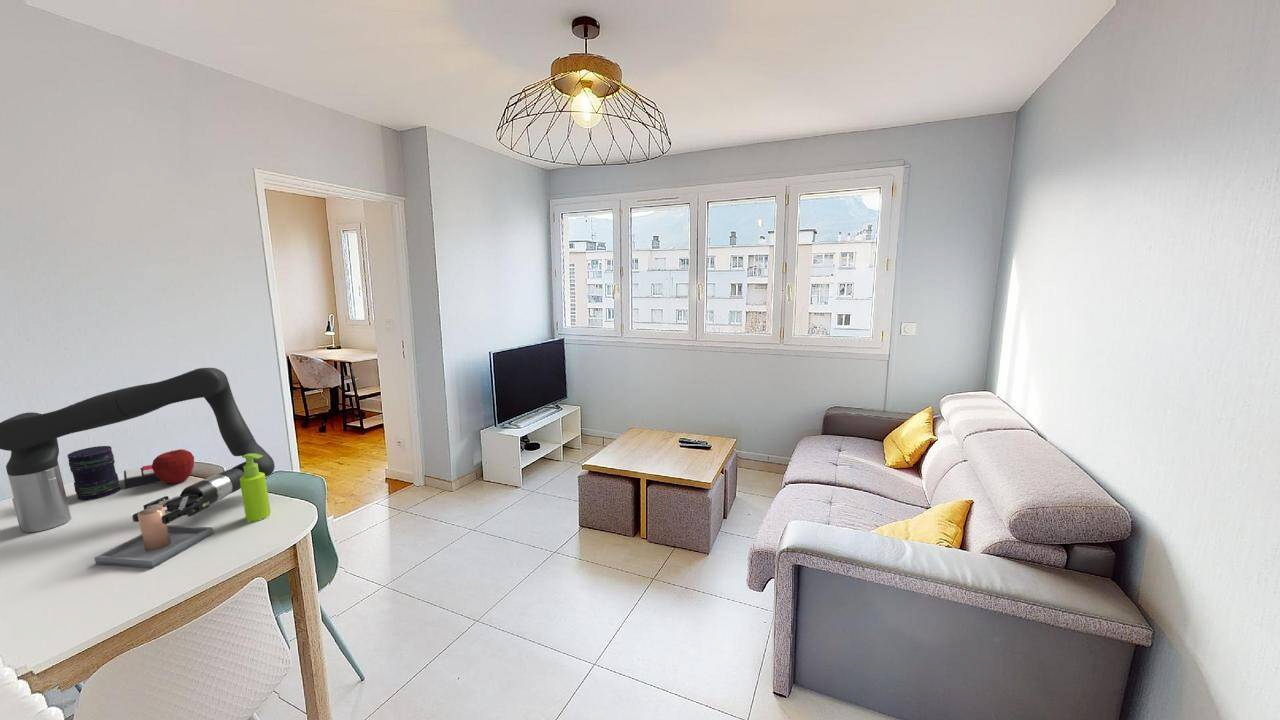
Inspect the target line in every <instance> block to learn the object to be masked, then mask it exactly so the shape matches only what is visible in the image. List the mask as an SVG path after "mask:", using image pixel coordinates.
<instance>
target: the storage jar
mask: <svg viewBox="0 0 1280 720" xmlns="http://www.w3.org/2000/svg"><path fill="white" fill-rule="evenodd" d="M112 449H113V448H112V446H111V445H97V446H91V447H87V448H82V449H78V450H75V451H72V452H69V453H68V454H67V455H66V456H67V459H68V466H69V470H70V473H72V476H73V480H74V482H73V486H74V491H75V493H76V496H77V497H76V498H77V500H78V501H92V500H93V501H94V500H98V499H102V498H106V497H109V496H112V495H114V494H116V493H118V492H119V491H121V487H120V480H119V476H118V473H117V472H116V469H115V468H116V467H115V461H116V460H115V457H114V454H113V451H112Z"/></svg>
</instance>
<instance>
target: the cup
mask: <svg viewBox="0 0 1280 720" xmlns="http://www.w3.org/2000/svg"><path fill="white" fill-rule="evenodd" d="M142 510H143V511H142ZM142 510H140V511H141V512H140V511H138V512H139V513H138V512H137V513H138V514H137V515H138V520H139V522H138V523H139V528H140V533H141V534H142V539H143V544H144V548H145V550H146V551H152V550H157V549H160V548H163V547H165V546H167V545H169V544H170V542H171V541H170V536H169V531H168V526H167V525H168V523H167V524H163V523H162V516H164V515H166V513H165V510H166V509H165V507H161V506H159V507H152V508H148V509H145V510H144V509H142ZM141 534H140V535H141Z"/></svg>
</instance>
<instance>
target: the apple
mask: <svg viewBox="0 0 1280 720" xmlns="http://www.w3.org/2000/svg"><path fill="white" fill-rule="evenodd" d="M151 465H152V469H153V471H154V473H155V475H156V476H157V477H158V478H159V479H160V480H161V481H160V482H162V483H165V484H166V483H167V484H170V485H171V484H172V485H173V484H174V485H175V484H179V483H182V482H184V481H186V480H187V479H188V478H189V477H191V475H192V472H193V468H194V466H195V456H194V455H193V452H192V451H191V452H190V451H189V450H186V449H183V448H182V449H181V448H180V449H176V450H171V451H167V452H163V453H160V454H159V455H157V456H155V458H154V459H153V461H152V463H151Z"/></svg>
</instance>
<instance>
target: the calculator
mask: <svg viewBox="0 0 1280 720" xmlns="http://www.w3.org/2000/svg"><path fill="white" fill-rule="evenodd" d="M123 476H124V477H123V478H124V487H125V489H126V490H128V489H132V488H137V487H140V486H144V485H147V484H154V483H158V482H162V481H161V480H160V479H159V478H158V477H157V476H156V475H155V473H154V471H153V469H152V464H149V465H143V466H142V467H133V468H128V469H127V468H126V469H125V470H124V471H123Z"/></svg>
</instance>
